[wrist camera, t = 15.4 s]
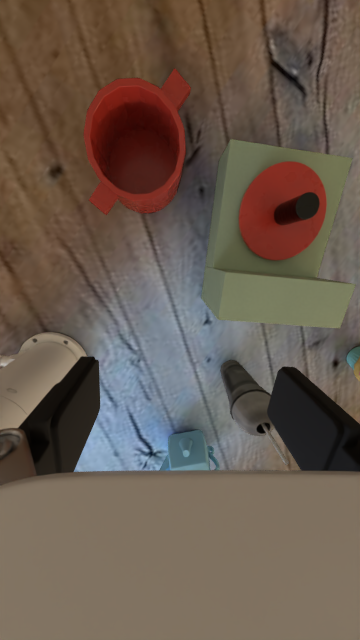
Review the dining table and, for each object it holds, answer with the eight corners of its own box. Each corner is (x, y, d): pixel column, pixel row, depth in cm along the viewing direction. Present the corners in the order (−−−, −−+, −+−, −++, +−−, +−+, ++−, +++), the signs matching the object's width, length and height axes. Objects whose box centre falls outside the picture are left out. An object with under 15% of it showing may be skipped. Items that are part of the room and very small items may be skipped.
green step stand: (219, 159, 31) (253, 98, 19) (320, 174, 33) (413, 127, 20) (201, 298, 38) (217, 319, 26) (285, 305, 39) (340, 328, 27)
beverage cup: (231, 347, 42) (285, 426, 23) (254, 367, 43) (321, 454, 25) (207, 371, 43) (239, 464, 24) (230, 389, 45) (277, 488, 26)
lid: (219, 220, 28) (233, 211, 22) (284, 141, 26) (318, 109, 20) (274, 276, 31) (299, 281, 26) (336, 211, 29) (380, 200, 23)
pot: (81, 191, 31) (52, 169, 23) (147, 87, 28) (140, 19, 20) (140, 242, 34) (132, 238, 26) (206, 153, 31) (221, 117, 23)
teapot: (216, 463, 52) (227, 510, 42) (162, 472, 52) (162, 522, 42) (208, 408, 46) (219, 448, 37) (148, 419, 46) (143, 462, 36)
